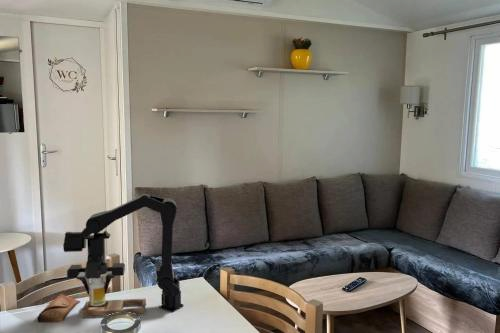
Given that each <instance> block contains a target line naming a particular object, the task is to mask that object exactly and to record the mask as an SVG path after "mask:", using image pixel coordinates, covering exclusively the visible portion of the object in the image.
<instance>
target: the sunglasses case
mask: <svg viewBox="0 0 500 333" xmlns="http://www.w3.org/2000/svg"><path fill="white" fill-rule="evenodd" d="M80 303H81V301H80V300H78V299H74V298H73V297H70V296H67V295H65V294H63V293H62V292H61V293H59V295H57V297H55V298H54V299H53V300H52V301H51V302H50V303H49V304H48V305H47V306H46V307H45V308H44V309H43V310H42V311H40V313H39V314H38V316H37V322H38V323H41V324H42V323H43V324H44V323H46V324H47V323H63V322H64V321H65V319H66V317H67V316H68V315H69V314H70V313H71V312H72V310H74V308H75V307H76V306H78V304H80Z"/></svg>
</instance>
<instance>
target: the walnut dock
mask: <svg viewBox="0 0 500 333" xmlns="http://www.w3.org/2000/svg"><path fill="white" fill-rule="evenodd" d="M146 305H147V298H130V299H126V298H125V299H111V300H110V299H109V300H106V301H105V303H104V304H103V305H100V306H91V305H90V303H89V300H88V301H87V300H86V301H85V303H84V305H83V308H82V310H81V311H80V313H81V314H80V318H100V317H108V316H107V315H109V314H112V313H116V312H131V313H135V314H137V315H136V316H139V315H142V316H143V315H145V311H146V307H147V306H146ZM126 306H127V307H128V306H130V307H131V306H141V307H137V308H136V307H134V308H133V307H132V308H124V307H126Z"/></svg>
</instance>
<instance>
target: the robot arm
mask: <svg viewBox="0 0 500 333" xmlns="http://www.w3.org/2000/svg"><path fill="white" fill-rule="evenodd" d="M143 208H148V209H150V210H153V211H154V212H156V213H159V214H160V219H161V226H162V232H161V234H162V235H161V236H162V237H161V238H162V240H161V243H162V244H161V262H160V265H156V269H155V272H156V275H155V283H157V287H158V288H159V289H160V290H161V294H160V295H161V305H160V306H159V309H162V310H165V311H167V312H168V311H169V312H171V313H174V312H175V311H178V310H179V309H181V308H182V307H184V304H183V303H182V291H181V290H180V288H181V285H180V284H181V283H180V280H179V279H178V278H177V277H175V275H174V267H173V263H172V261H173V260H172V256H173V231H174V227H173V226H174V223H175V219H176V215H177V209H178V208H177V203H176V201H175V199H173V198H167V197H166V198H163V197H158V196H154V195H150V194H148V193H142V194H141V195H140V196H138V197H136V198H133V199H132V200H129V201H127V202H125V203H123V204H121V205H119V206H116V207H114V208H112V209H109V210H105V211H100V212H97V213H94V214H92V215H90V216H89V218H88V219H87V220H86V222H85V228H83V229H82V230H81V231H74V232H73V231H66V232H65V233H64V240H63V245H62V246H63V247H62V248H63V252H64V253H74V252H83V250H84V249H87V261H86V264H85V267H83V265H82V264H71V265H70V266H69V268H68V269H67V271H66V278H68V279H71V278H74V279H75V278H76V280H79V281H80V282H81V283H82V284H83V286H84V289H85V292H86V293H87V295H88V296H89V284H90V280H91V278H100V277H101V275H104V274H106V276H105V295H106V294H107V292H108V290H109V286H110V283H111V280H112V279H114V278H116V277H120V276H121V277H122V276H124V274H125V272H126V265H125V263H124V262H117V263H116V262H115V263H113V264H112V266H108V263H107V262H106V243H105V242H106V241H105V240H107V239H110V237H111V233H109V232H108V231H107V230H105V229H106V228H107V227H108V226H110V225H112V224H113V223H114V222H115V221H118V220H120V219H122V218H124V217H126V216H127V215H128V216H129V215H130V214H132V213H134V212H136V211H139V210H140V209H143ZM103 230H104V231H103ZM102 231H103V232H102ZM92 234H93V235H92Z"/></svg>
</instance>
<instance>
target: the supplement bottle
mask: <svg viewBox="0 0 500 333" xmlns="http://www.w3.org/2000/svg"><path fill="white" fill-rule="evenodd" d="M90 281H91V282H89V295H88V298H89V300H88V301H89V303H90V305H91V306H100V305H103V304H104V303H105V301H106V294H105V284H106V281H104V275H103V274H101V277H100V278H90Z"/></svg>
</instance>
